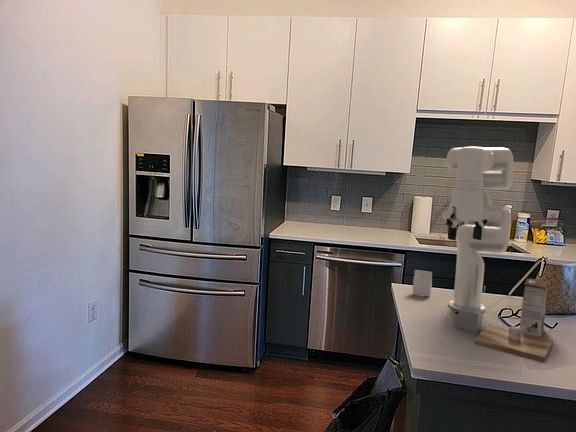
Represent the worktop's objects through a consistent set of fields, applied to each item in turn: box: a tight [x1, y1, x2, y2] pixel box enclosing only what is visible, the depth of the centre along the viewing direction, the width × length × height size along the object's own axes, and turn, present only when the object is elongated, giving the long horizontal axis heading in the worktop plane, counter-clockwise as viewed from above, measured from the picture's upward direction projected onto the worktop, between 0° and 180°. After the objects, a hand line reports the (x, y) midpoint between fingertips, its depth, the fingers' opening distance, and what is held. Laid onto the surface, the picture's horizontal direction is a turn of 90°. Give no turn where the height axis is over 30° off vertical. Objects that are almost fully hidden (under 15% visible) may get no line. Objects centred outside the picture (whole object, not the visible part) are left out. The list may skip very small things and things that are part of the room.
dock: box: [474, 324, 554, 362], centre depth 128 cm, size 16×18×5 cm
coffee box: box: [519, 278, 549, 337], centre depth 138 cm, size 9×6×16 cm
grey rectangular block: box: [411, 269, 433, 298], centre depth 175 cm, size 4×7×10 cm, turn 63°
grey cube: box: [456, 306, 484, 333], centre depth 139 cm, size 6×6×6 cm
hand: (464, 239), depth 137 cm, fingers open, 9 cm apart
